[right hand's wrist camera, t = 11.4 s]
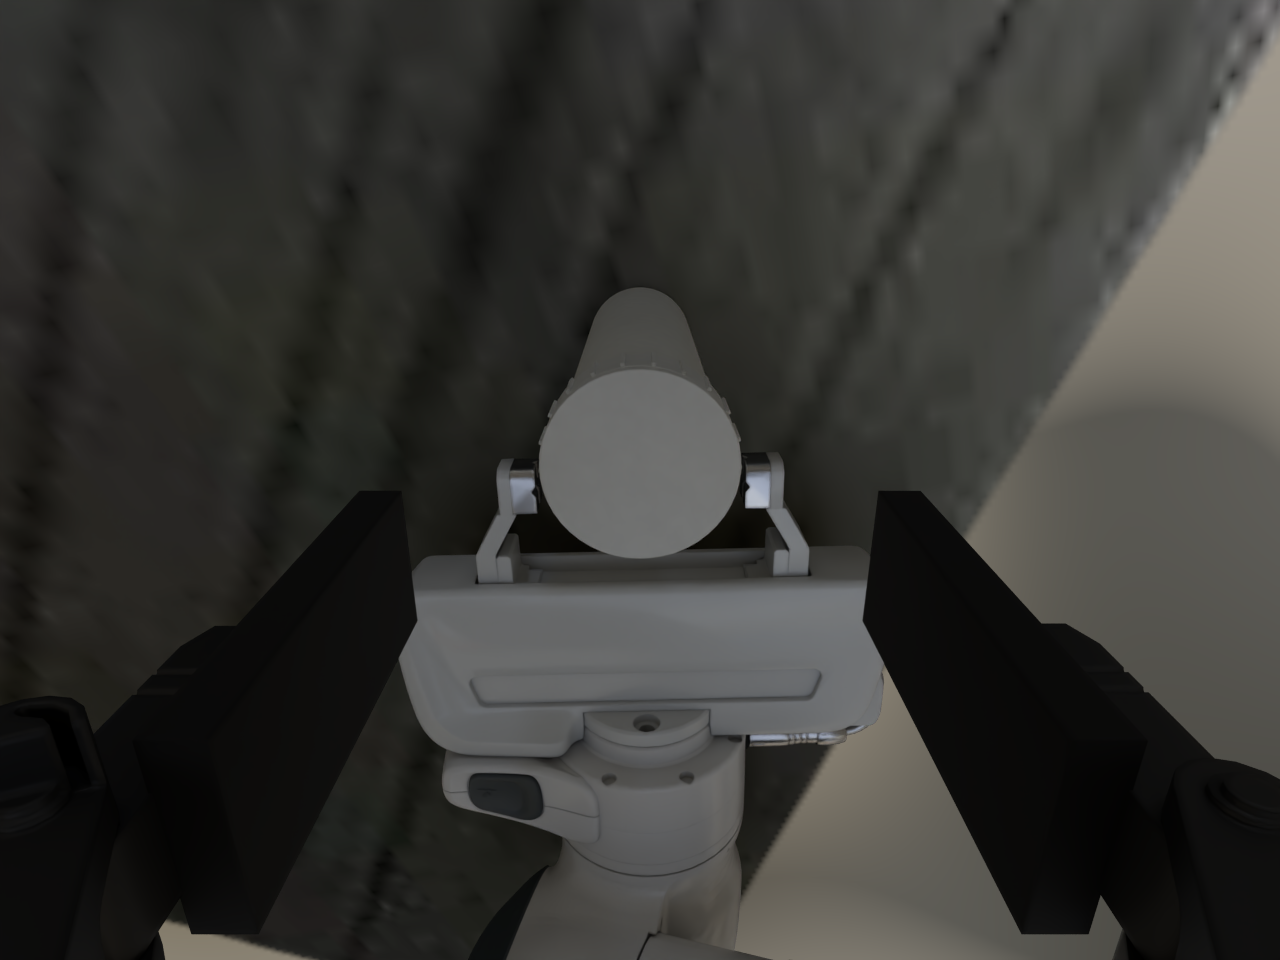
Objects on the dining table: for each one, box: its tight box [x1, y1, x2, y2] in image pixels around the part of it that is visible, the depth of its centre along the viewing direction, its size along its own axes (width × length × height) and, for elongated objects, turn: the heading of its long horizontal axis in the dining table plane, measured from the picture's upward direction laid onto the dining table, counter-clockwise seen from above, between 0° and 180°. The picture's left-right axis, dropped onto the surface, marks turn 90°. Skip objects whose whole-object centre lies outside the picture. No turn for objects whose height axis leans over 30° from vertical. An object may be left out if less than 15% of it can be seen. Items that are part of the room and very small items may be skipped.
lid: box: [538, 352, 742, 559], centre depth 19 cm, size 5×5×2 cm
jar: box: [574, 287, 705, 379], centre depth 26 cm, size 4×4×16 cm
